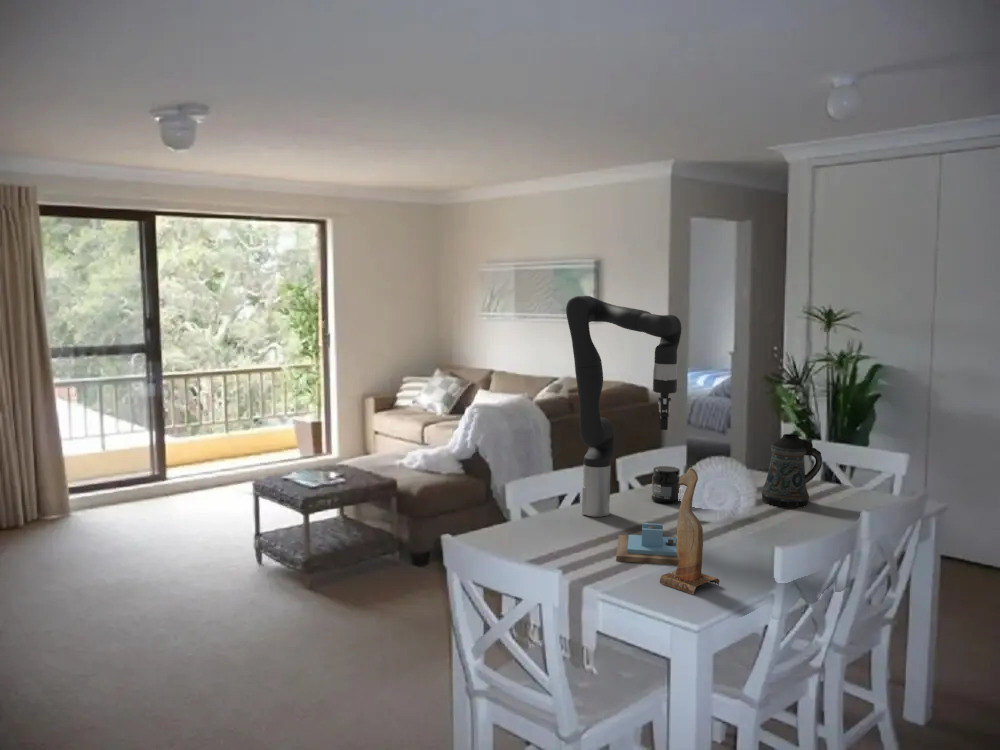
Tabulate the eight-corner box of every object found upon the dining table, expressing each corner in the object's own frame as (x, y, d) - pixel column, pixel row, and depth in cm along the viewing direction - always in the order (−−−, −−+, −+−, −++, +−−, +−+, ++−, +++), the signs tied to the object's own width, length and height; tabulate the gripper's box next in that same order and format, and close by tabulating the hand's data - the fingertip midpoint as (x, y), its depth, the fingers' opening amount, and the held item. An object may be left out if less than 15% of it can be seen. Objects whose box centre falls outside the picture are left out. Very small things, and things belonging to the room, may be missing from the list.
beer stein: (751, 498, 307) (754, 432, 304) (796, 494, 313) (799, 429, 310) (779, 510, 291) (782, 440, 289) (825, 506, 297) (829, 437, 294)
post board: (616, 560, 238) (616, 535, 237) (618, 539, 257) (619, 516, 256) (687, 565, 234) (688, 539, 233) (684, 543, 253) (685, 519, 253)
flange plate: (627, 553, 240) (627, 532, 239) (628, 538, 254) (629, 518, 253) (676, 556, 237) (677, 535, 237) (675, 541, 251) (676, 521, 250)
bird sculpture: (683, 575, 227) (683, 460, 224) (720, 585, 219) (720, 466, 216) (658, 585, 220) (658, 466, 217) (696, 596, 211) (696, 473, 208)
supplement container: (680, 498, 307) (681, 466, 306) (680, 505, 297) (681, 472, 296) (651, 496, 310) (652, 464, 308) (650, 503, 299) (651, 471, 298)
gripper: (653, 374, 272) (652, 423, 274) (653, 379, 259) (651, 430, 260) (676, 375, 271) (675, 424, 273) (677, 380, 257) (676, 431, 259)
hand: (663, 427), depth 267 cm, fingers open, 8 cm apart
